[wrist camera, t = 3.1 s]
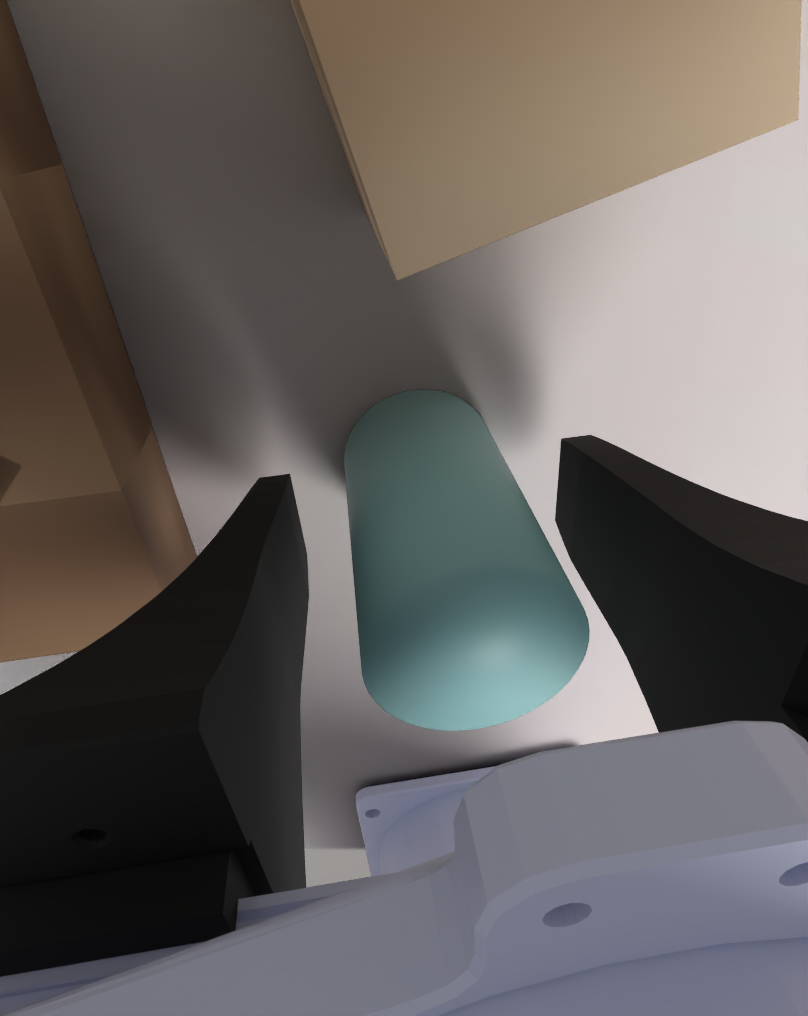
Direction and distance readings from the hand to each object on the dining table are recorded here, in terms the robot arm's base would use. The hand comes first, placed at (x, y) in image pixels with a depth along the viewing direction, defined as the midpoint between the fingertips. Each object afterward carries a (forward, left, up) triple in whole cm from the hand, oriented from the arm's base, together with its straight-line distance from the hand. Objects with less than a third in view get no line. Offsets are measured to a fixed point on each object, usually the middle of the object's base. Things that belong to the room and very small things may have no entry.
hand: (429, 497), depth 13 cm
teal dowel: (0, 0, -2) cm, 2 cm away
